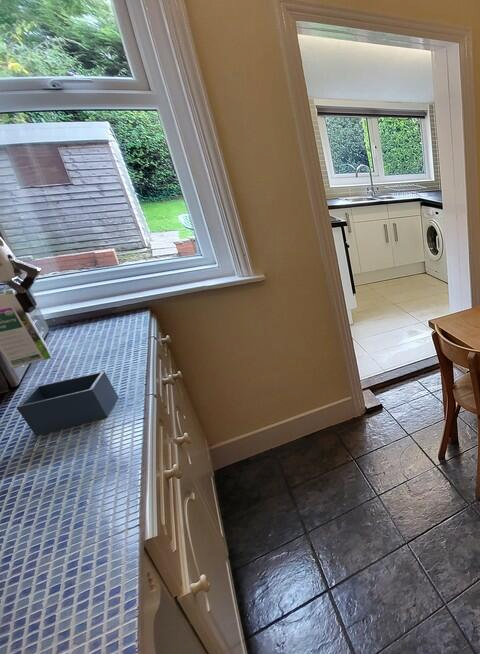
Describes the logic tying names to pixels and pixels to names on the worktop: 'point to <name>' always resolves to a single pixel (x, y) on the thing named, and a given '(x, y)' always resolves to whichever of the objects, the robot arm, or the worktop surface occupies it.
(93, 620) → the worktop surface
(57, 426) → the tub
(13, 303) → the syrup box
